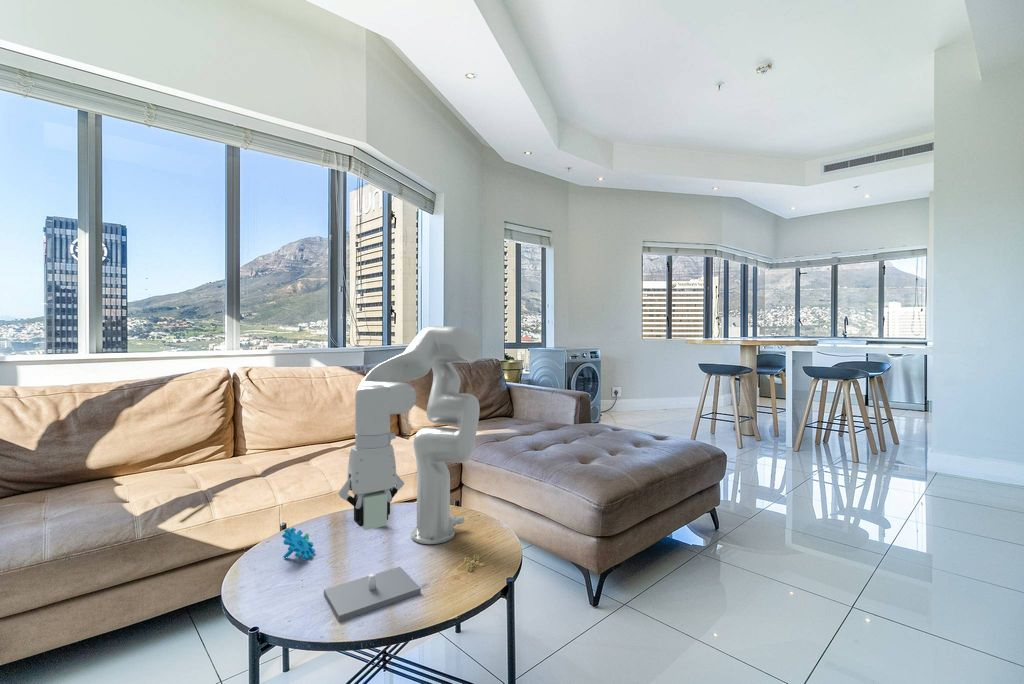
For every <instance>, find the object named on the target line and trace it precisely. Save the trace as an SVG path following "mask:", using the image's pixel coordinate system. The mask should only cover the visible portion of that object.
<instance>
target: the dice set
mask: <svg viewBox="0 0 1024 684" xmlns="http://www.w3.org/2000/svg"><path fill="white" fill-rule="evenodd" d="M472 558H473V560H471V557H467V556H466V557H464V565H465V564H466V565H465V567H466V568H465V569H466V570H467V572H471V571H470V570H472V571H473V568H475V567H476V565H475V564H479V565H478V567H480V566H483V565H484V566H485V563H480V554H477V553H475V554H474V555H473V557H472ZM475 561H478V562H475ZM474 566H475V567H474ZM484 566H483V567H484ZM472 567H473V568H472Z"/></svg>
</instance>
